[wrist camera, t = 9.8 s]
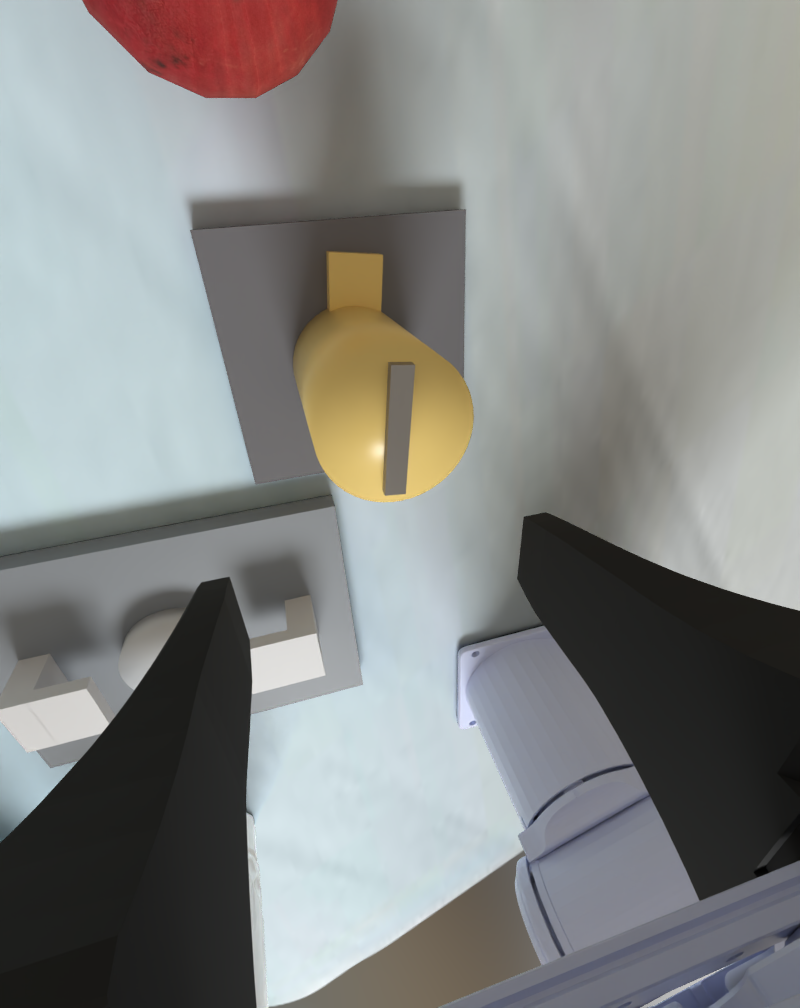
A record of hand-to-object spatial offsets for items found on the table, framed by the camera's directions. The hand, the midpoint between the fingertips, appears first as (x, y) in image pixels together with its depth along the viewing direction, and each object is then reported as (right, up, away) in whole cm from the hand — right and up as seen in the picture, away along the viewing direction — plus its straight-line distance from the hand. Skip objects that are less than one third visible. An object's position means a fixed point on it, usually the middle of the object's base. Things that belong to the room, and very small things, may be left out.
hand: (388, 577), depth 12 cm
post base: (-10, -4, +11) cm, 16 cm away
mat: (-2, +7, +7) cm, 10 cm away
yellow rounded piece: (-1, +7, +6) cm, 10 cm away
